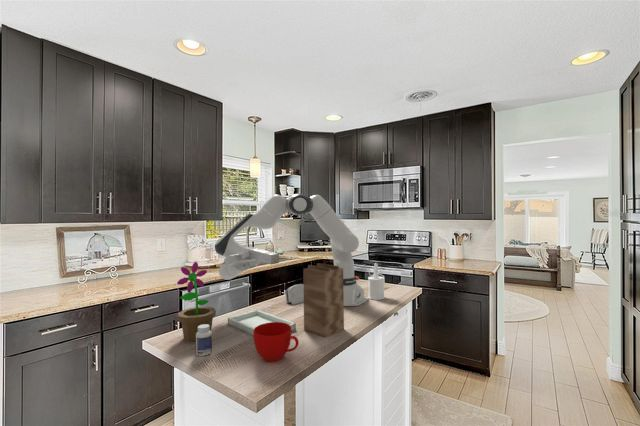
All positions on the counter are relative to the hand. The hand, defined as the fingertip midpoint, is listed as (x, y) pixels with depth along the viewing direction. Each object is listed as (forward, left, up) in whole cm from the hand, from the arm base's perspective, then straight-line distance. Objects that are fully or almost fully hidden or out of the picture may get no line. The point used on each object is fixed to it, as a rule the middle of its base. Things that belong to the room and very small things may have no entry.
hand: (254, 252), depth 140 cm
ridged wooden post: (-16, +27, -32) cm, 45 cm away
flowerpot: (+24, -6, -33) cm, 41 cm away
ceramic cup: (+14, +33, -33) cm, 48 cm away
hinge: (-39, -14, -33) cm, 53 cm away
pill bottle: (+29, +10, -33) cm, 45 cm away
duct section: (0, +4, -3) cm, 5 cm away
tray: (0, +4, -32) cm, 33 cm away
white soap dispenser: (-72, +17, -33) cm, 81 cm away
